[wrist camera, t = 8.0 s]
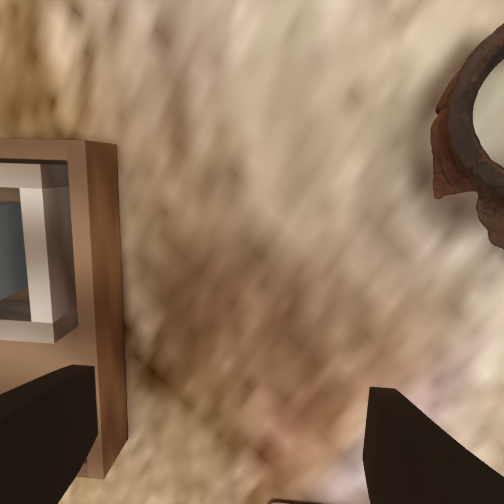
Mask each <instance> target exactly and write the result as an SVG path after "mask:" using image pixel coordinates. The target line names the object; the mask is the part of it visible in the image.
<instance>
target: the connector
mask: <svg viewBox="0 0 504 504" xmlns="http://www.w3.org/2000/svg"><path fill="white" fill-rule="evenodd" d="M26 288H28V277H27V266H26V255H25V244H24V233H23V222H22V211H21V202H14V201H0V300H2V299H4V298H6V297H8V296H10V295H13V294H15V293H17V292H19V291H21V290H24V289H26Z"/></svg>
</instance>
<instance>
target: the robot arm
mask: <svg viewBox="0 0 504 504" xmlns="http://www.w3.org/2000/svg"><path fill="white" fill-rule="evenodd" d="M97 436H98V417H97V400H96V382H95V366H88V365H75V364H72V365H69V366H66V367H63V368H60V369H58V370H55V371H53V372H50V373H48V374H46V375H43V376H41V377H39V378H36V379H34V380H32V381H29V382H27V383H25V384H23V385H20V386H18V387H16V388H14V389H11V390H9V391H7V392H4V393H2V394H0V504H58V502H59V501H60V499H61V498H62V497H63V495H64V494H65V492H66V491H67V489H68V488H69V486H70V485H71V483H72V482H73V480H74V479H75V477H76V476H77V474H78V473H79V471H80V469H81V467H82V466H83V464H84V462H85V460H86V458H87V456H88V454H89V452H90V450H91V448H92V446H93V444H94V442H95V440H96V438H97ZM363 464H364V470H365V477H366V483H367V488H368V494H369V499H370V503H371V504H504V477H503V476H502V475H500V474H499V473H497V472H496V471H495V470H493V469H492V468H491V467H489V466H488V465H487V464H485V463H484V462H483V461H481V460H480V459H479V458H477V457H476V456H475V455H474V454H472V453H471V452H470V451H468V450H467V449H466V448H465V447H463V446H462V445H461V444H460V443H458V442H457V441H456V440H455V439H453V438H452V437H451V436H450V435H449V434H447V433H446V432H445V431H444V430H443V429H441V428H440V427H439V426H438V425H437V424H436V423H434V422H433V421H432V420H431V419H430V418H429V417H427V416H426V415H425V414H424V413H423V412H422V411H421V410H419V409H418V408H417V407H416V406H415V405H414V404H413V403H411V402H410V401H409V400H408V399H407V398H406V397H405V396H403V395H402V394H401V393H400V392H399V391H397V390H396V389H394V388H380V387H370V390H369V399H368V409H367V419H366V428H365V438H364V448H363ZM271 504H288V503H278V502H275V503H271Z"/></svg>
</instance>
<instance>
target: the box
mask: <svg viewBox="0 0 504 504" xmlns="http://www.w3.org/2000/svg"><path fill="white" fill-rule="evenodd" d="M0 201H14V202H21V211H22V222H23V233H24V244H25V255H26V266H27V277H28V288H26V289H24V290H21V291H19V292H17V293H15V294H13V295H10V296H8V297H6V298H4V299H2V300H0V394H2V393H4V392H7V391H9V390H11V389H14V388H16V387H18V386H20V385H23V384H25V383H27V382H29V381H32V380H34V379H36V378H39V377H41V376H43V375H46V374H48V373H50V372H53V371H55V370H58V369H60V368H63V367H66V366H69V365H72V364H75V365H88V366H95V382H96V400H97V417H98V436H97V438H96V440H95V442H94V444H93V446H92V448H91V450H90V452H89V454H88V456H87V458H86V460H85V462H84V464H83V466H82V467H81V469H80V471H79V473H78V474H77V476H76V477H85V478H95V479H104V478H105V477H106V475H107V473H108V472H109V470H110V468H111V467H112V465H113V463H114V461H115V460H116V458H117V456H118V455H119V453H120V451H121V450H122V448H123V446H124V445H125V443H126V441H127V440H128V424H127V399H126V374H125V348H124V323H123V298H122V273H121V247H120V222H119V197H118V172H117V147H116V145H115V144H107V143H100V142H92V141H83V140H47V139H10V138H0Z"/></svg>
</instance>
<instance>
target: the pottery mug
mask: <svg viewBox="0 0 504 504" xmlns="http://www.w3.org/2000/svg"><path fill="white" fill-rule="evenodd" d="M503 59H504V24H502V25H501V26H500V27H498V28H497V29H496V30H495V31H494V32H493V33H492V34H491V35H490V36H488V37H487V38H486V39H485V40H483V41H482V42H481V43H480V44H479V45H478V46H477V47H476V49H475V50H474V51H473V52H472V53H471V55H470V56H469V57H468V58H467V60H466V61H465V63H464V65H463V67H462V68H461V70H460V71H459V72H458V73H457V74H456V75H455V77H454V78H453V79H452V80H451V82H450V83H449V84H448V86H447V88H446V89H445V91H444V93H443V95H442V96H441V98H440V100H439V102H438V104H437V106H436V110H435V112H436V114H437V115H438V116H437V118H436V119H435V120H434V122H433V124H432V126H431V138H430V139H431V146H432V154H433V168H434V170H433V173H434V179H433V191H434V198H435V199H441V198H442V197H443V196H446V195H453V194H457V193H462V192H470V191H475V192H477V193H478V201H477V205H476V210H477V212H478V217H479V220H480V222H481V223H482V224H483V226H484V227H485V228H486V229H487V231H488V237H489V240H490V242H491V243H492V244H493V245H495V246H498V247H500V248H502V249H504V168H503V167H502V166H500V165H499V164H498V163H496V162H494V161H492V160H491V159H490V157H489V156H488V154H487V153H486V152H485V150H484V149H483V148H482V146H481V144H480V142H479V139H478V137H477V135H476V133H475V130H474V126H473V107H474V102H475V99H476V96H477V94H478V90H479V89H480V87H481V86H482V84H483V82H484V81H485V79H486V78H487V76H488V75H489V74H490V72H491V71H492V70H493V69H494V68H495V67H496V66H497V64H498V63H500V62H501V61H502V60H503Z"/></svg>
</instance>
